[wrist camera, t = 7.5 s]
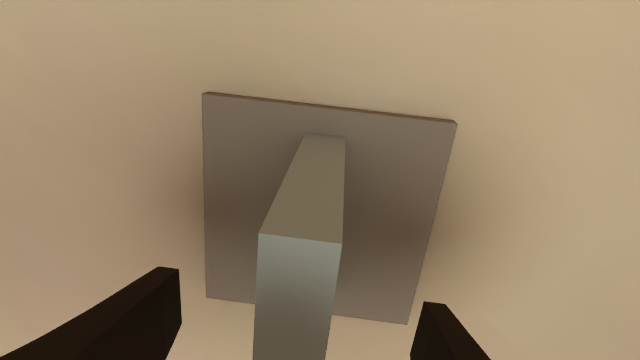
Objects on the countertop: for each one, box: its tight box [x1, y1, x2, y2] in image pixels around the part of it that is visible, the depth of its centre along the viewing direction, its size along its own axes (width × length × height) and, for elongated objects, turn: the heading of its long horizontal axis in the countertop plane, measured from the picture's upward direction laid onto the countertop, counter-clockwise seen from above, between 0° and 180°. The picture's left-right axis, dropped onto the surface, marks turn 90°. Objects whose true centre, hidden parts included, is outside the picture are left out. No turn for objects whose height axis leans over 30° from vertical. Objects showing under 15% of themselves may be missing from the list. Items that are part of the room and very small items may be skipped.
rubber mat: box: [202, 92, 458, 325], centre depth 16 cm, size 10×10×1 cm
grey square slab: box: [253, 132, 346, 360], centre depth 12 cm, size 2×8×8 cm, turn 174°
